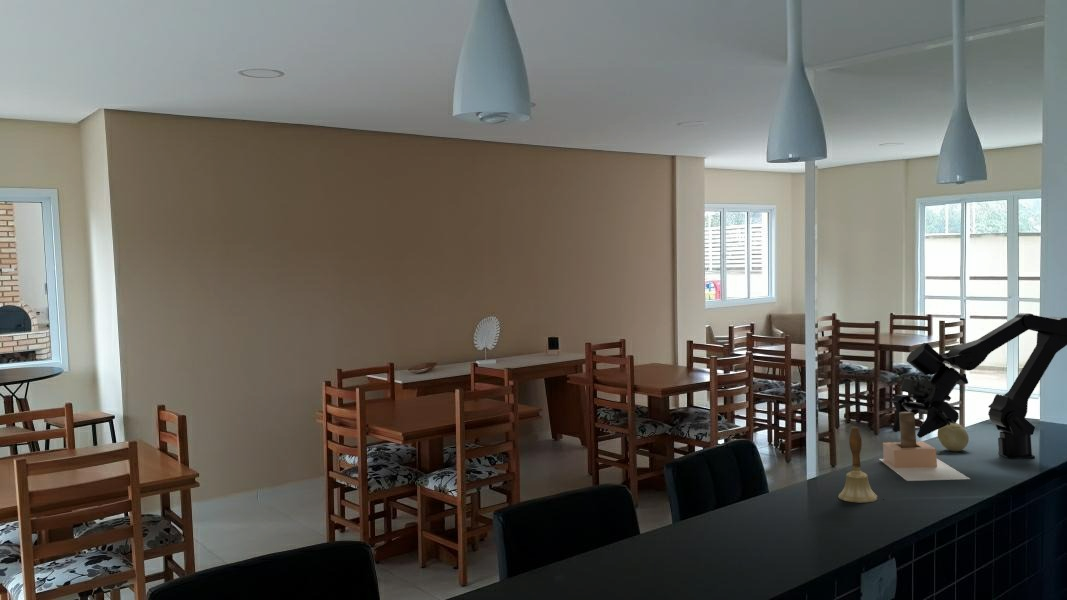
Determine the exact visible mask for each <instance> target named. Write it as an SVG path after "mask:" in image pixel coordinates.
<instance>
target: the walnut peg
mask: <svg viewBox="0 0 1067 600" xmlns="http://www.w3.org/2000/svg"><path fill="white" fill-rule="evenodd" d="M915 416H916V415H915V414H914V412H899V421H900V430H899V433H900V436H899V437H900V442H901V448H915V447H917V446H916V442H917V432H916V418H915Z"/></svg>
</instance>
